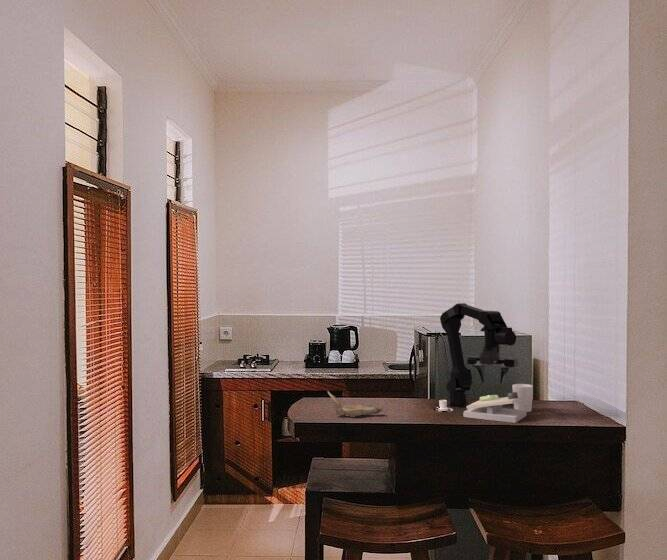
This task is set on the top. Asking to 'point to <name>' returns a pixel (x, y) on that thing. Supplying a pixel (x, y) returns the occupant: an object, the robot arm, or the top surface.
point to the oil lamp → (354, 408)
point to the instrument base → (496, 413)
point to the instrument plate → (495, 400)
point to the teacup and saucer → (443, 405)
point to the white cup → (527, 395)
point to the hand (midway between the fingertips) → (492, 383)
